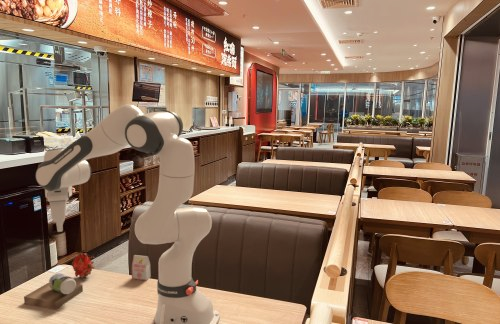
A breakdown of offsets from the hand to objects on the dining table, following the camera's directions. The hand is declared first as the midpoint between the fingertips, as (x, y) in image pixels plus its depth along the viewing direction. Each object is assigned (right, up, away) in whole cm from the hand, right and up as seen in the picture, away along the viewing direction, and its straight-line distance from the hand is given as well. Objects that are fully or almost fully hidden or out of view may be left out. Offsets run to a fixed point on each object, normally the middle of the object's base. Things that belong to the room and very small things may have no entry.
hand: (60, 227), depth 138 cm
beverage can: (+5, -22, -4) cm, 23 cm away
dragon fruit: (0, -25, +19) cm, 32 cm away
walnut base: (-4, -28, +3) cm, 28 cm away
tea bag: (+24, -26, +20) cm, 41 cm away
